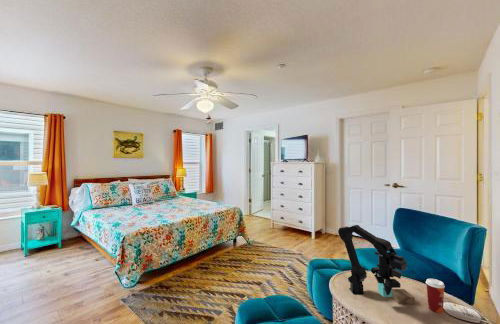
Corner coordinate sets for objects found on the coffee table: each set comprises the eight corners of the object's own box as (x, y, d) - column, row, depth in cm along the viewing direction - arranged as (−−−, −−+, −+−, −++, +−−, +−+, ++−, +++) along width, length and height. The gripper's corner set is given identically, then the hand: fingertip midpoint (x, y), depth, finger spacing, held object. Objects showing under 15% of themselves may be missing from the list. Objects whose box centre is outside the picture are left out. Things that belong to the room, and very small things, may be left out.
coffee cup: (446, 316, 121) (446, 287, 121) (426, 311, 125) (426, 282, 125) (444, 307, 128) (443, 280, 128) (425, 303, 132) (424, 276, 132)
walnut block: (398, 304, 132) (398, 297, 132) (389, 295, 141) (388, 289, 141) (414, 304, 132) (414, 297, 132) (404, 295, 141) (403, 288, 141)
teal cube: (383, 296, 128) (383, 287, 128) (378, 292, 133) (378, 283, 133) (392, 296, 128) (392, 287, 128) (387, 291, 133) (386, 282, 133)
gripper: (410, 271, 121) (411, 301, 121) (389, 257, 140) (389, 283, 140) (388, 271, 121) (389, 302, 121) (370, 257, 140) (370, 284, 140)
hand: (385, 292), depth 130 cm, fingers closed on teal cube, 5 cm apart
